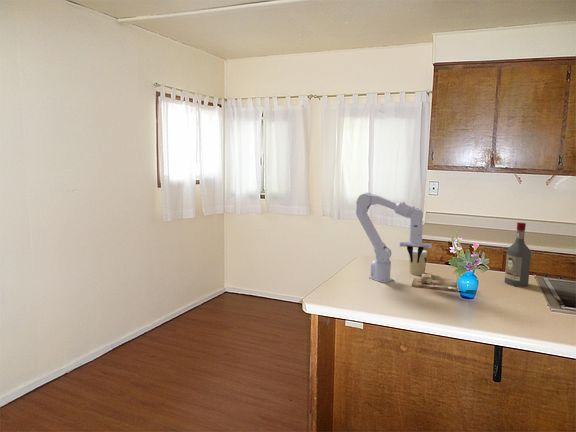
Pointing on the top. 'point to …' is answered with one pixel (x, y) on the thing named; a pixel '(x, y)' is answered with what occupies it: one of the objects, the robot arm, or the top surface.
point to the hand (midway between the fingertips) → (414, 262)
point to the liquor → (518, 260)
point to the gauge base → (436, 285)
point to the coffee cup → (418, 267)
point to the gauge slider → (426, 278)
